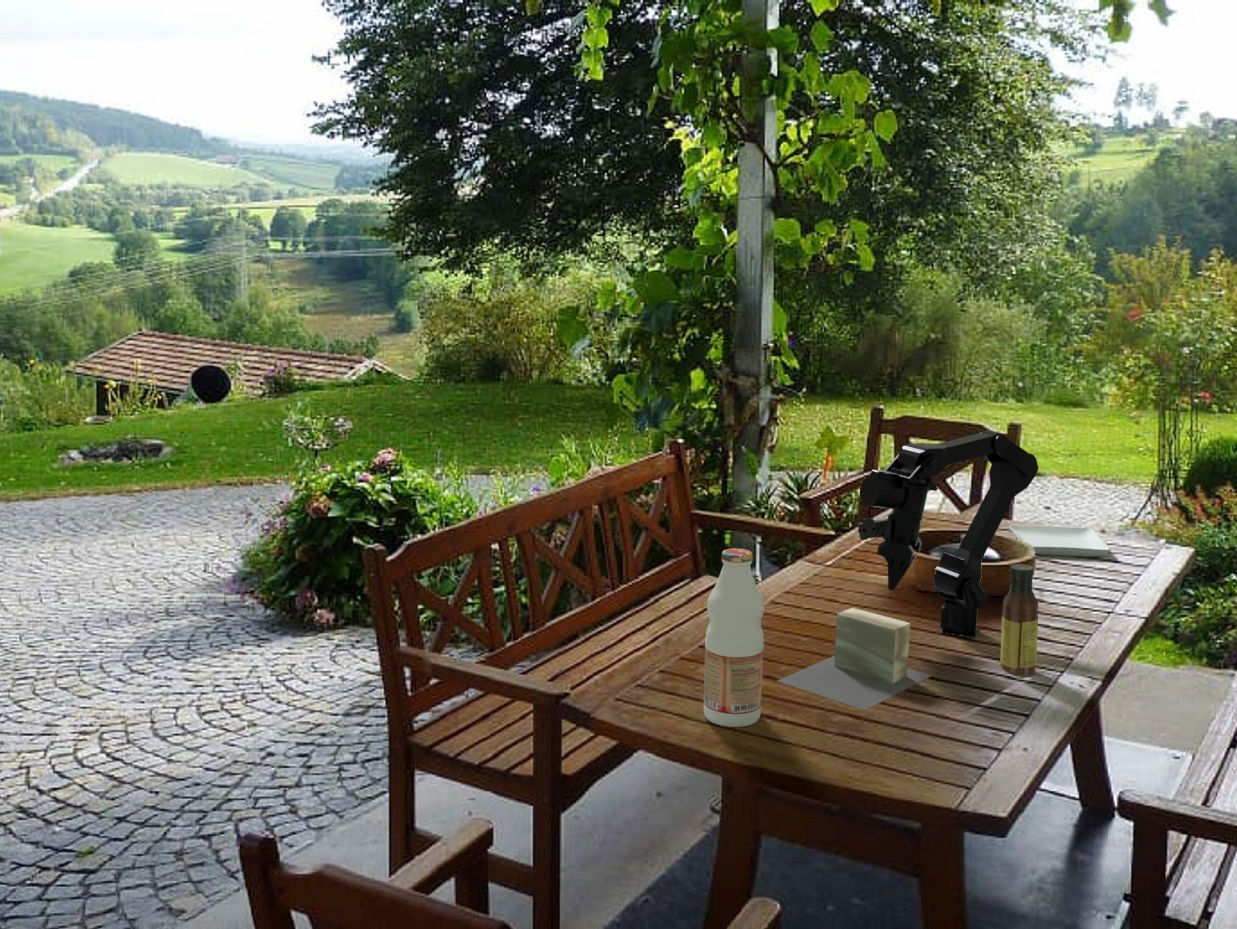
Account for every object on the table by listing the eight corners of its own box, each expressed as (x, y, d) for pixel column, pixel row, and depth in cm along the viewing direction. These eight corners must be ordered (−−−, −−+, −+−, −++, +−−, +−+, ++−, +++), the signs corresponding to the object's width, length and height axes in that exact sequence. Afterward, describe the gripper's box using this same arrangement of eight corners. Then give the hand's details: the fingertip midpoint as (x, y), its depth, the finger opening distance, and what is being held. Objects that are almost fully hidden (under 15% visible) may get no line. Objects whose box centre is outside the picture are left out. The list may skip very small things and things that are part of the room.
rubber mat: (846, 653, 222) (846, 650, 222) (931, 678, 209) (932, 675, 209) (776, 684, 206) (776, 680, 206) (864, 713, 194) (864, 710, 194)
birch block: (849, 659, 217) (852, 607, 215) (906, 676, 209) (910, 623, 207) (834, 666, 213) (836, 613, 211) (892, 683, 205) (895, 629, 203)
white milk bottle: (693, 720, 190) (698, 554, 185) (717, 701, 198) (721, 541, 193) (747, 733, 186) (753, 563, 180) (769, 712, 194) (775, 549, 189)
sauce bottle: (1035, 667, 215) (1044, 563, 211) (1035, 679, 210) (1044, 573, 206) (998, 663, 217) (1006, 560, 213) (997, 675, 212) (1005, 569, 208)
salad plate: (1021, 557, 290) (1022, 544, 290) (1007, 536, 311) (1008, 523, 310) (1111, 562, 287) (1112, 548, 286) (1091, 540, 307) (1092, 527, 307)
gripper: (872, 498, 234) (856, 573, 236) (858, 505, 217) (841, 586, 218) (928, 510, 230) (912, 586, 232) (919, 518, 213) (901, 601, 215)
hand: (891, 589), depth 224 cm, fingers closed
